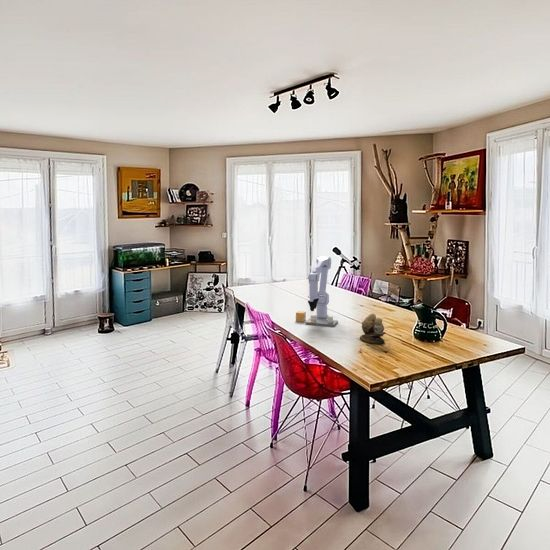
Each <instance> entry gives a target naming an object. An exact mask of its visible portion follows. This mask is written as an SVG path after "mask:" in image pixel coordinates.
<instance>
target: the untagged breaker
mask: <svg viewBox="0 0 550 550" xmlns="http://www.w3.org/2000/svg"><path fill="white" fill-rule="evenodd" d="M327 320H328V323H333V320H334V315H328V316H327Z"/></svg>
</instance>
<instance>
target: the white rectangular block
mask: <svg viewBox="0 0 550 550" xmlns="http://www.w3.org/2000/svg"><path fill="white" fill-rule="evenodd" d="M316 315H317V314H315V313H313V314H310V318H311V321H316V319H317V317H316Z"/></svg>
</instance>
